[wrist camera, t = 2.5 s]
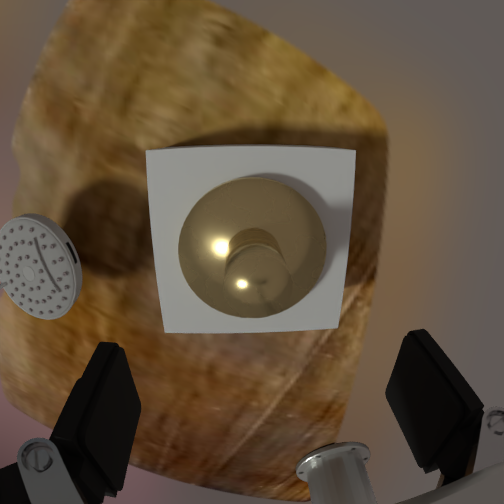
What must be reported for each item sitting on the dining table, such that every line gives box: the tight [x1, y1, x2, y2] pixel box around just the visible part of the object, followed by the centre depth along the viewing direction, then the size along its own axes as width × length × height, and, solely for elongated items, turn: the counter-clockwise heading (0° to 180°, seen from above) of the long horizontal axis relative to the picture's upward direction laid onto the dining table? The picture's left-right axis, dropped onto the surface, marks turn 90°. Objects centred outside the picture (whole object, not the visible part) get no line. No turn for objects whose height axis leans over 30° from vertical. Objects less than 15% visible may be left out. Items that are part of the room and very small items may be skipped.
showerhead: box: [0, 214, 82, 319], centre depth 24 cm, size 9×7×10 cm
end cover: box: [178, 177, 327, 318], centre depth 21 cm, size 10×10×10 cm
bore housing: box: [146, 144, 356, 333], centre depth 25 cm, size 14×14×6 cm
